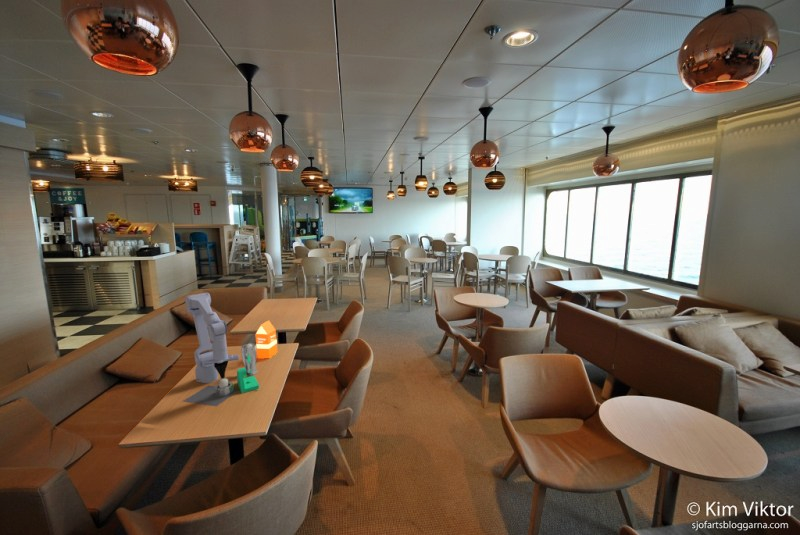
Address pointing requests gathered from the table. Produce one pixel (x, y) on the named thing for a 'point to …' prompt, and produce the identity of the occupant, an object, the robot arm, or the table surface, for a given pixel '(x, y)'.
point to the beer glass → (249, 358)
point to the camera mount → (246, 381)
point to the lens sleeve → (224, 390)
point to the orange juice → (266, 340)
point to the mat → (208, 397)
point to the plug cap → (223, 383)
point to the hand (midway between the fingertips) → (222, 377)
